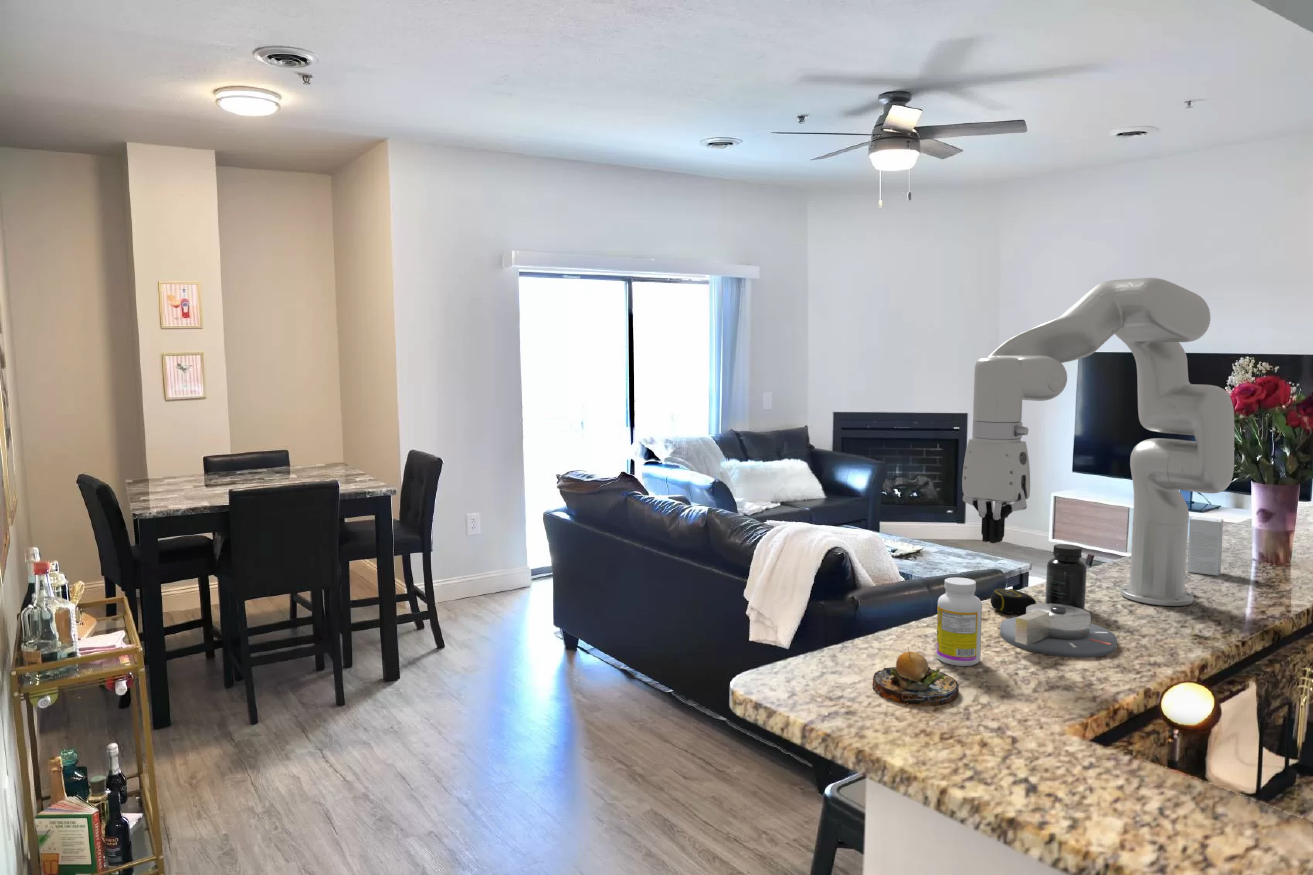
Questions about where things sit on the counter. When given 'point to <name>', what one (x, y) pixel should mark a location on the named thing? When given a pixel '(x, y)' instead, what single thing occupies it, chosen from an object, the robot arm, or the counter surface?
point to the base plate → (1065, 642)
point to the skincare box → (1205, 545)
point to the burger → (915, 682)
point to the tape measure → (1011, 601)
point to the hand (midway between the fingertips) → (992, 541)
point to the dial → (1052, 623)
